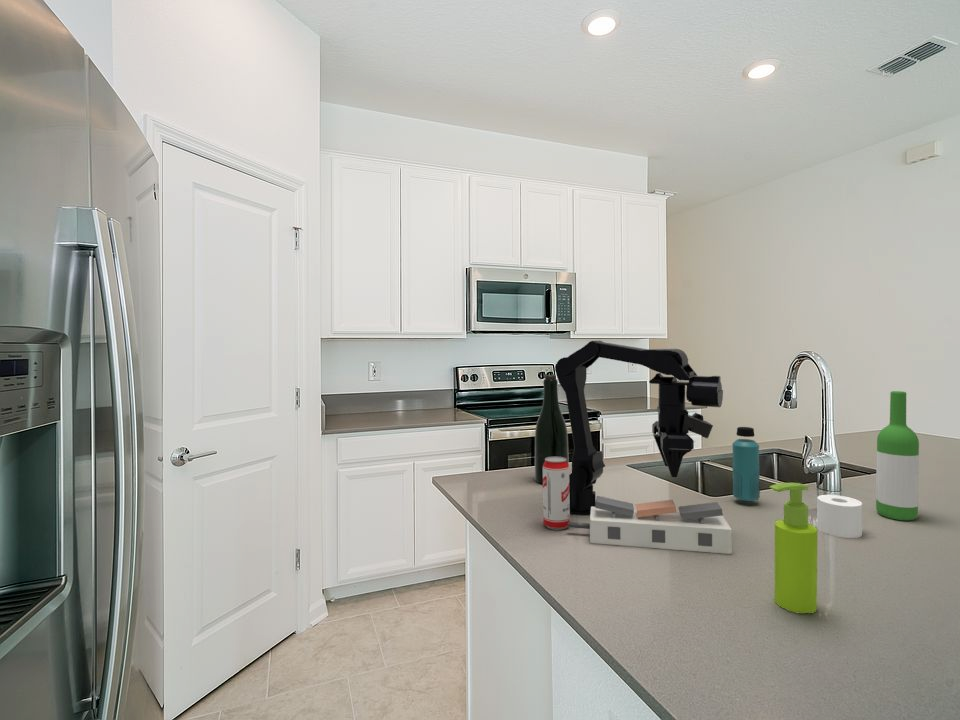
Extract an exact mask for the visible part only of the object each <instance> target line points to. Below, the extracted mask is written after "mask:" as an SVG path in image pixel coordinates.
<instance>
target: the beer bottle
mask: <svg viewBox="0 0 960 720" xmlns="http://www.w3.org/2000/svg"><path fill="white" fill-rule="evenodd" d="M542 382H543V400H542V406H541V410H540V412H539V415H538V416H539V417H538V419H537V422H536V424H535V430H534V431H535V433H534V435H535V436H534V480H535V481H536V482H537V483H538V484H542V485H543V464H544V462H545V458H547V457H553V456H557V457H564V458H566V459H567V463H568V465H569V463H570V462H569V461H570V460H569V459H570V457H569V436H568V435H569V434H568V427H567V424H566V421H565V418H564V416H563V414H562V410H561V407H560V403H559V393H558V389H559V388H558V384H559V381H558V378H557V375H555V374H547V375H544V379H543V381H542ZM569 466H570V465H569Z"/></svg>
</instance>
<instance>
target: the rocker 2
mask: <svg viewBox="0 0 960 720" xmlns="http://www.w3.org/2000/svg"><path fill="white" fill-rule="evenodd" d="M634 505H635V509H636V511H637V516H638V517H644V516H652V515H661V514H669V513H677V512H678V511H677V507H676V504H675V502H674V500H673V499H667V500H659V501H650V502H643V503H636V504H634Z"/></svg>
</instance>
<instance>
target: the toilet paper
mask: <svg viewBox="0 0 960 720" xmlns="http://www.w3.org/2000/svg"><path fill="white" fill-rule="evenodd" d="M816 505H817V506H816V528H817V530H818V531H820V532H822V533H823V534H827V535H829V536H834V537H836V538H837V537H838V538H844V539H857V538H860V537H862V536H863V503H862V501H860V500H858V499H855V498H852V497H849V496H844V495H839V494H834V493H827V494H821V495H818V496H817V499H816Z"/></svg>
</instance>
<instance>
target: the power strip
mask: <svg viewBox="0 0 960 720" xmlns="http://www.w3.org/2000/svg"><path fill="white" fill-rule="evenodd" d="M676 512H677V513H669V514H661V515H652V516H644V517H638V516H637V511H636V508H634V513H633V516H628V515H624V514H620V513H615V512H611V511H607V510H602V509H598V508H595V507H591V514H589V515H590V517H589V518H590V519H589V522H577V521H576V522H573V521H570V522H568V527H567V528H570V529H585V530H586V529H587V530H589V543H590V544H598V545H612V546H624V547H635V548H636V547H637V548H638V547H639V548H646V549H647V548H649V549H663V550H675V551H689V552H697V553H698V552H701V553H710V554H711V553H713V554H714V553H715V554H726V555H732V552H733V548H732V546H733V544H732V543H733V542H732V540H733V539H732V536H733V535H732V534H733V533H732V532H733V531H732V528H731V526H730V525H729V523H728V522H727V520H726V519H725V518H724V515H723V516H714V517H705V518H696V519H688V520H682V518H681V515H680V513H679V511H676Z"/></svg>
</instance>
